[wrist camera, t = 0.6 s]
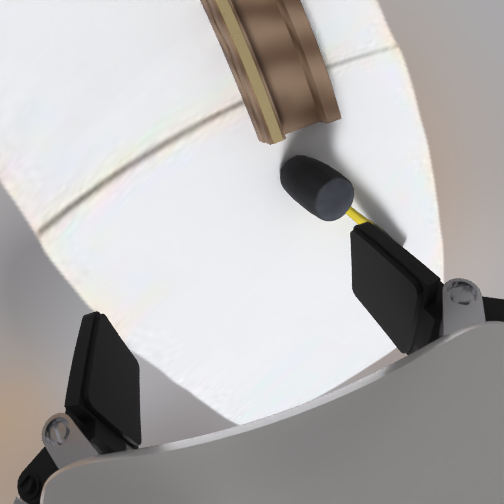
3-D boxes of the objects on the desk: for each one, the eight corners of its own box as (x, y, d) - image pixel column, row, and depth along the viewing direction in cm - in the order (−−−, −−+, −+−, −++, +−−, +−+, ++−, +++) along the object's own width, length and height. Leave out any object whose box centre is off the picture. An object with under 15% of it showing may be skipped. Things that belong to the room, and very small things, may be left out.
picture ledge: (200, -1, 26) (203, -12, 22) (276, -20, 26) (288, -30, 22) (259, 140, 36) (269, 145, 33) (327, 114, 36) (343, 118, 33)
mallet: (408, 239, 51) (442, 265, 43) (389, 264, 53) (420, 293, 45) (294, 144, 38) (329, 159, 30) (269, 181, 39) (296, 206, 31)
